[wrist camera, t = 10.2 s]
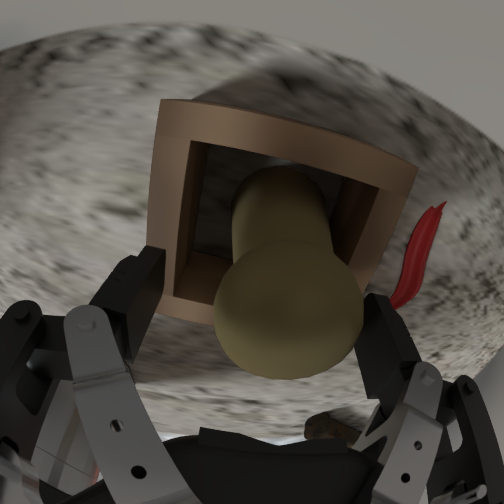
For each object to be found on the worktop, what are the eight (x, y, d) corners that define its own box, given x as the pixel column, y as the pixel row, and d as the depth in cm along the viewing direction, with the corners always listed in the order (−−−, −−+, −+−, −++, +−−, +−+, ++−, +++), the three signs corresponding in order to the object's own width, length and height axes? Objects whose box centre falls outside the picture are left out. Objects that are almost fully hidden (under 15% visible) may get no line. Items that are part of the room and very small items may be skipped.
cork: (307, 152, 15) (375, 235, 6) (336, 237, 18) (391, 373, 9) (214, 188, 17) (152, 308, 7) (253, 265, 19) (242, 410, 10)
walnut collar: (379, 147, 15) (418, 167, 11) (321, 296, 21) (332, 345, 16) (191, 99, 14) (161, 98, 10) (169, 265, 20) (146, 310, 15)
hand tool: (301, 417, 32) (302, 447, 28) (327, 408, 30) (330, 439, 26) (358, 442, 38) (361, 463, 34) (377, 434, 37) (381, 456, 33)
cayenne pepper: (383, 322, 23) (389, 337, 21) (346, 306, 22) (351, 321, 20) (467, 217, 17) (481, 227, 15) (437, 185, 16) (451, 195, 14)
